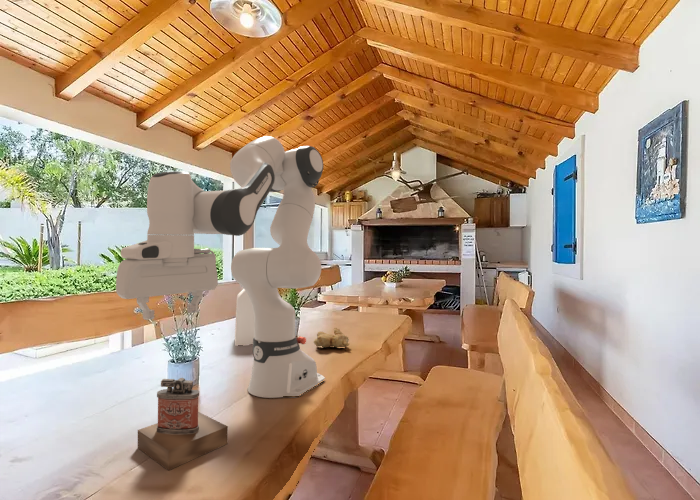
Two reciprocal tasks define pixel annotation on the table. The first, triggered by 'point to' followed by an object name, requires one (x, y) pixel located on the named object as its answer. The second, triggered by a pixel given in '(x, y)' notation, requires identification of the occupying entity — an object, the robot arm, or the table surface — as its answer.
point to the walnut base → (182, 442)
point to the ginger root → (332, 339)
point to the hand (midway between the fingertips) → (171, 315)
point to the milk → (244, 320)
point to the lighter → (177, 407)
